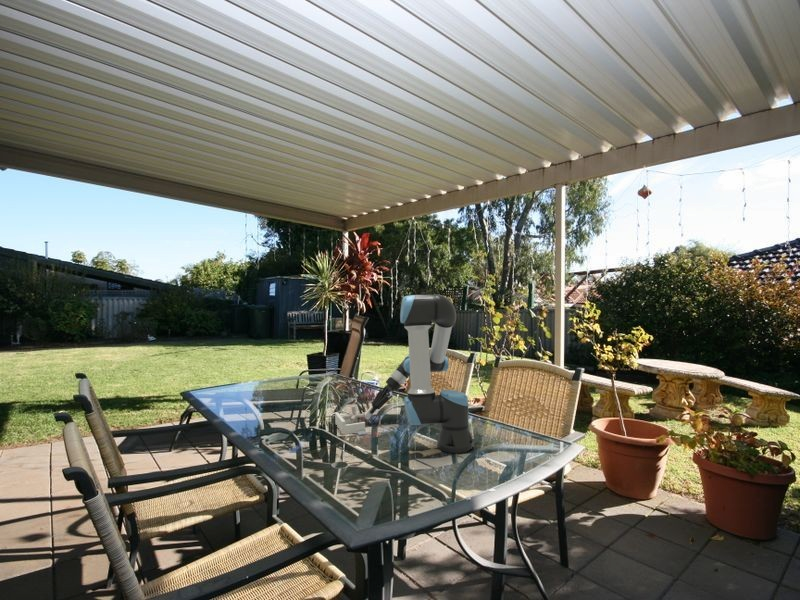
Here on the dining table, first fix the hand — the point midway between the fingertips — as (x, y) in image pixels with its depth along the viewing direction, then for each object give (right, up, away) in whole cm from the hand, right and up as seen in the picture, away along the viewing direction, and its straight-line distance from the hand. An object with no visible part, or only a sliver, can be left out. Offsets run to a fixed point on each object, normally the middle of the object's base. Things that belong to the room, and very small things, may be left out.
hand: (365, 417), depth 211 cm
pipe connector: (-4, -4, -2) cm, 6 cm away
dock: (-7, -4, -3) cm, 9 cm away
